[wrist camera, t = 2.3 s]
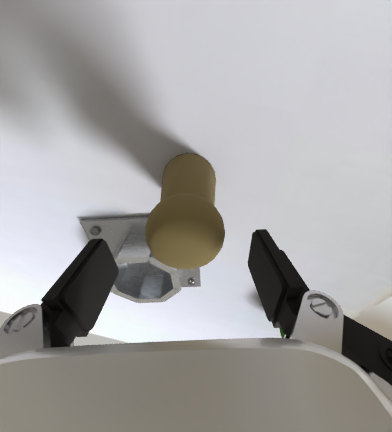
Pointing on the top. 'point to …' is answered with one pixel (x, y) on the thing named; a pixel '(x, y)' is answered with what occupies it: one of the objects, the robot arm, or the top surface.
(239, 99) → the top surface
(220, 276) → the top surface
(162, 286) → the duct collar
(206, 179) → the cork
